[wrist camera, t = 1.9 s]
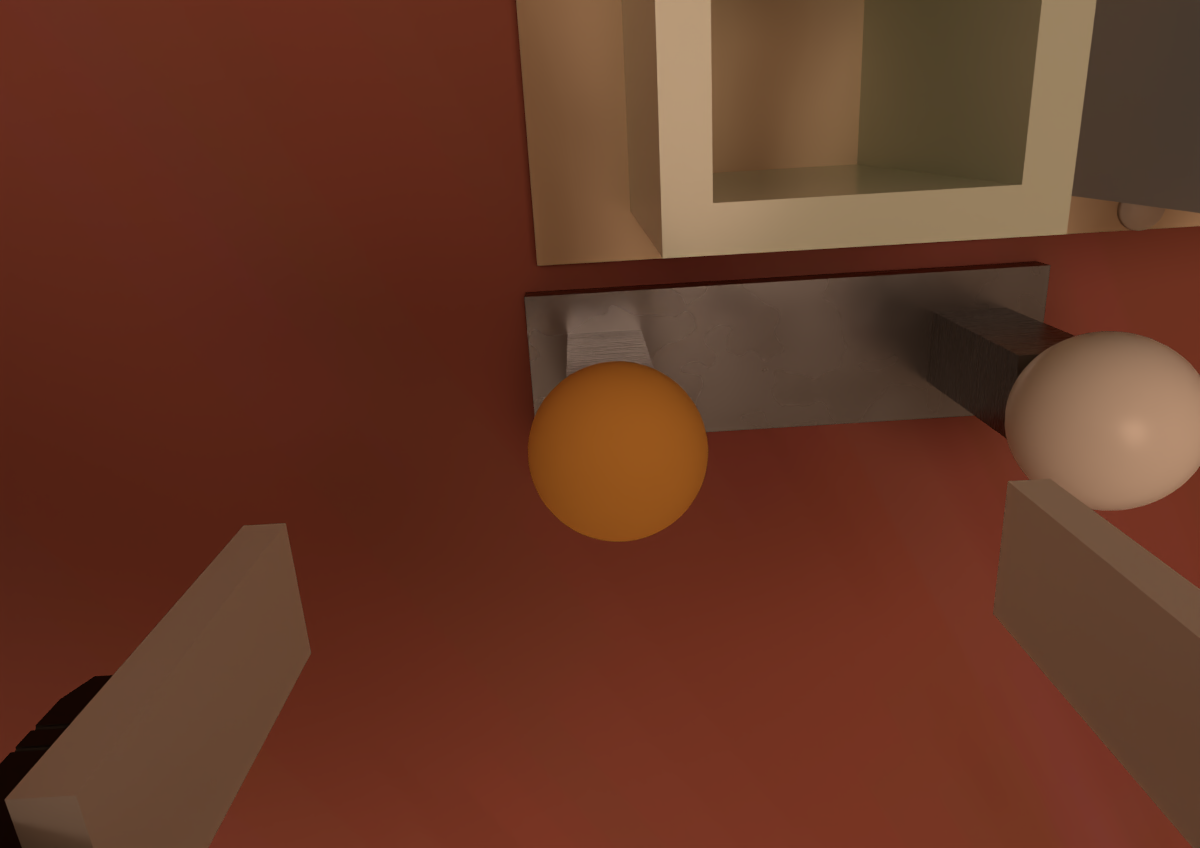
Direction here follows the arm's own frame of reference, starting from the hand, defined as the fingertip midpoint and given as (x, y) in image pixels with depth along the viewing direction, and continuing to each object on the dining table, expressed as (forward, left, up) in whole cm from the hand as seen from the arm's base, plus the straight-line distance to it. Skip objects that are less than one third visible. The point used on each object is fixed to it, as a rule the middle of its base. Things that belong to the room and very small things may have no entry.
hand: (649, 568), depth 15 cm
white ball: (+12, 0, -6) cm, 13 cm away
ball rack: (+6, 0, -14) cm, 15 cm away
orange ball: (0, 0, -6) cm, 6 cm away
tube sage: (+5, +9, -14) cm, 17 cm away
